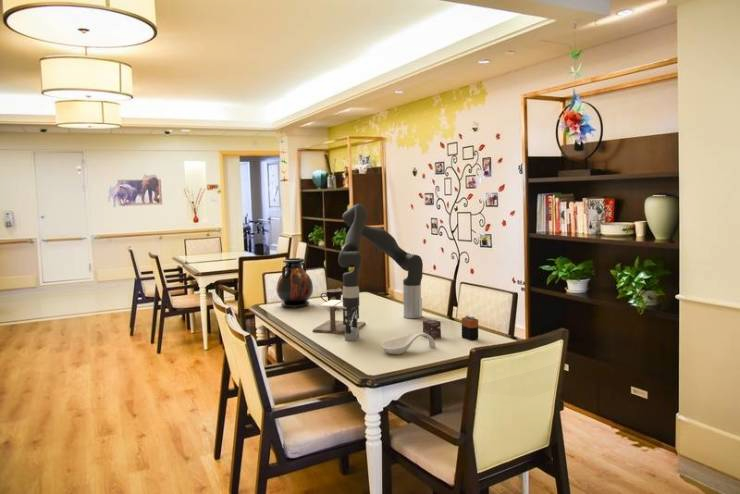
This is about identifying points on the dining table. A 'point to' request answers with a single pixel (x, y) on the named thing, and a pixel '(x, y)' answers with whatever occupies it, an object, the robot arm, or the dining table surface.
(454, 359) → the dining table surface
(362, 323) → the stand
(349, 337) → the gray cube
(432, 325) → the box
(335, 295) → the coffee mug
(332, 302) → the trapdoor
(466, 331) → the battery
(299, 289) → the amphora vase
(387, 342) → the spoon rest
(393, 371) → the dining table surface
